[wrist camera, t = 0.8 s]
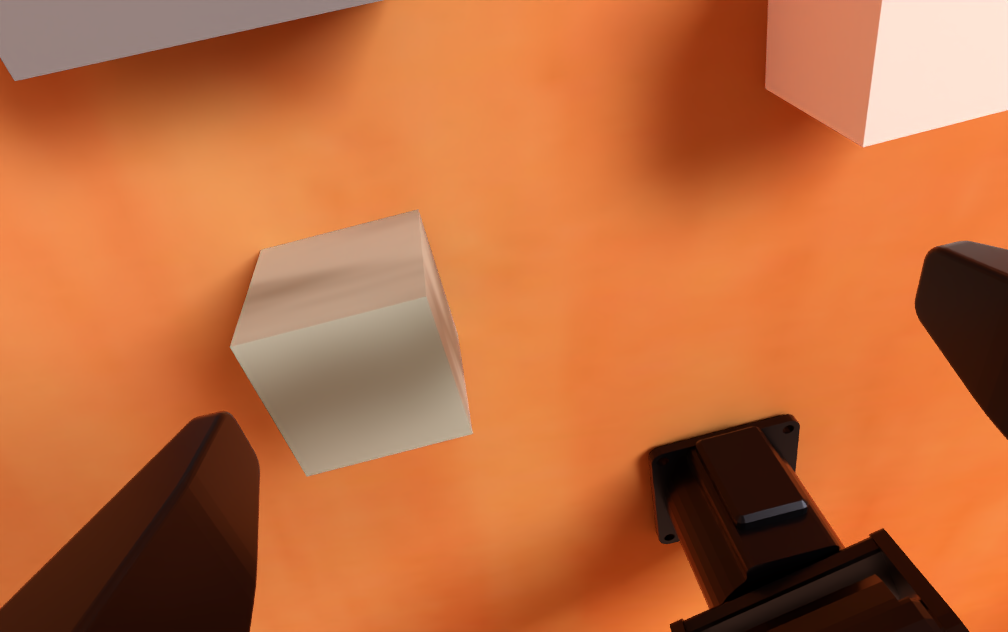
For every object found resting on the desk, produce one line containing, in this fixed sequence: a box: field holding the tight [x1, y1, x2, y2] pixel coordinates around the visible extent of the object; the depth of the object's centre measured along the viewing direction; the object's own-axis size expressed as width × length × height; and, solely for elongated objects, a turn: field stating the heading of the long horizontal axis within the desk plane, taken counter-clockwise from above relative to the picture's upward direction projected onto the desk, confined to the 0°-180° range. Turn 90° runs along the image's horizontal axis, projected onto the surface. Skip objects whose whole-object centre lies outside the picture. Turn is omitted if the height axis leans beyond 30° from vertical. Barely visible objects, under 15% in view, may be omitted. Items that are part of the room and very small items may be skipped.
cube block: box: [230, 210, 473, 476], centre depth 19 cm, size 5×5×5 cm
